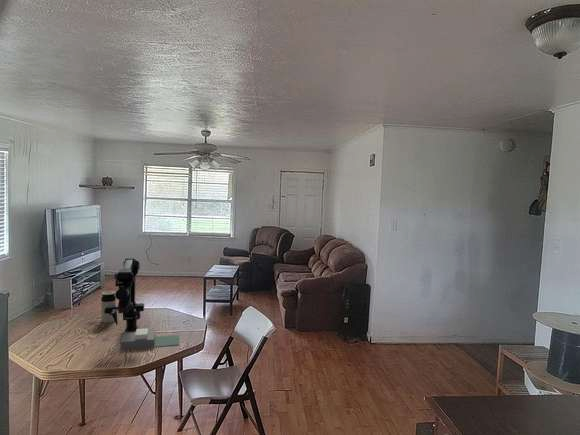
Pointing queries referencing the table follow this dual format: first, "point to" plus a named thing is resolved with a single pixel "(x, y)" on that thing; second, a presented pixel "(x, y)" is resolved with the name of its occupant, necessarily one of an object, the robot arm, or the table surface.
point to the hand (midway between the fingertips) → (124, 324)
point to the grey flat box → (137, 341)
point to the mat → (167, 341)
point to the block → (141, 333)
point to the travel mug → (106, 299)
